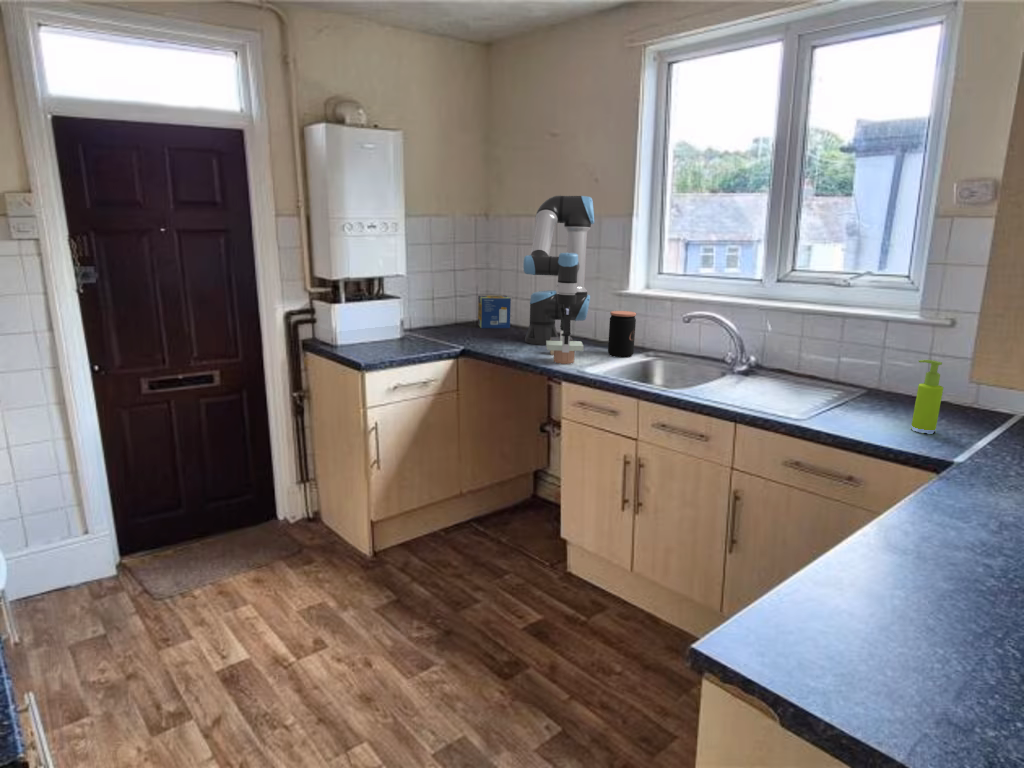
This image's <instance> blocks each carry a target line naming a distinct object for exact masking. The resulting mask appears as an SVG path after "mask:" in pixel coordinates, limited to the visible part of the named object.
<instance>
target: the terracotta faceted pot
mask: <svg viewBox="0 0 1024 768" xmlns="http://www.w3.org/2000/svg"><path fill="white" fill-rule="evenodd" d="M575 352H576V351H569V353H566V352H562V351H558V350H554V355H553V363H555V362H556V363H555V364H559V363H561V364H560V365H570V364H571V363H572V364H574V362H575Z"/></svg>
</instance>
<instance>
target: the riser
mask: <svg viewBox="0 0 1024 768" xmlns="http://www.w3.org/2000/svg"><path fill="white" fill-rule="evenodd" d="M550 341H560V336H558V337H550ZM570 341H574V340H573V337H571V336H570ZM549 353H550V356H554V350H549Z"/></svg>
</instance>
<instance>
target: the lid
mask: <svg viewBox="0 0 1024 768" xmlns="http://www.w3.org/2000/svg"><path fill="white" fill-rule="evenodd" d="M545 347H546V351H550V350H558V351H562V341H546V345H545ZM569 351H575V352H584V344H583V342H582V341H581V340H580V341H579V340H578V341H577V340H573V341H570V344H569Z"/></svg>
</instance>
